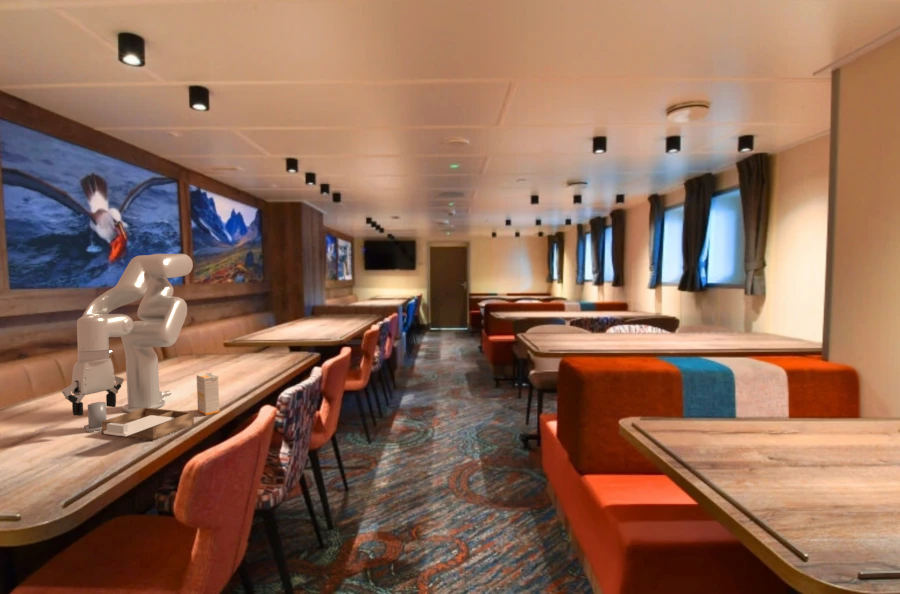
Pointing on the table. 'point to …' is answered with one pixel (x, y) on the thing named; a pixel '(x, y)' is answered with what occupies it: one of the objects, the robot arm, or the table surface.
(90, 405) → the grey cylinder
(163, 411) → the housing
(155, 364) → the robot arm
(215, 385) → the supplement box
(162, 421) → the lid
